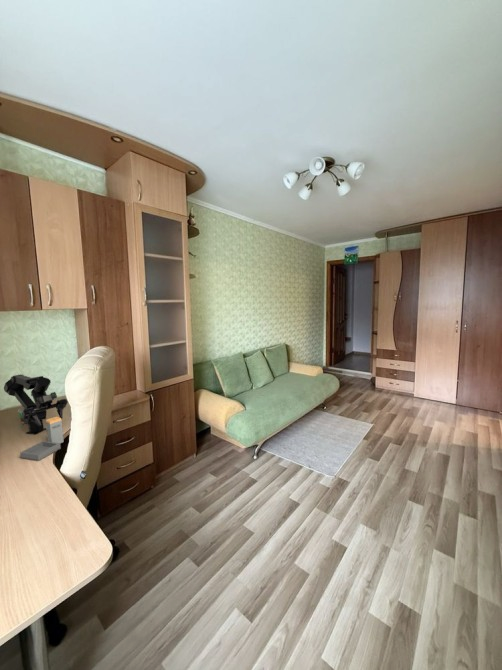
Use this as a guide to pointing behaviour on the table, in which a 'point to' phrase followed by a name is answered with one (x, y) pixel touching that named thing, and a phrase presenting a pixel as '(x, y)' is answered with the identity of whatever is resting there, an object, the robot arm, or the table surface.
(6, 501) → the table surface
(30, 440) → the table surface
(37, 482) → the table surface
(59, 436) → the gray orange box
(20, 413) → the food container
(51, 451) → the tray
